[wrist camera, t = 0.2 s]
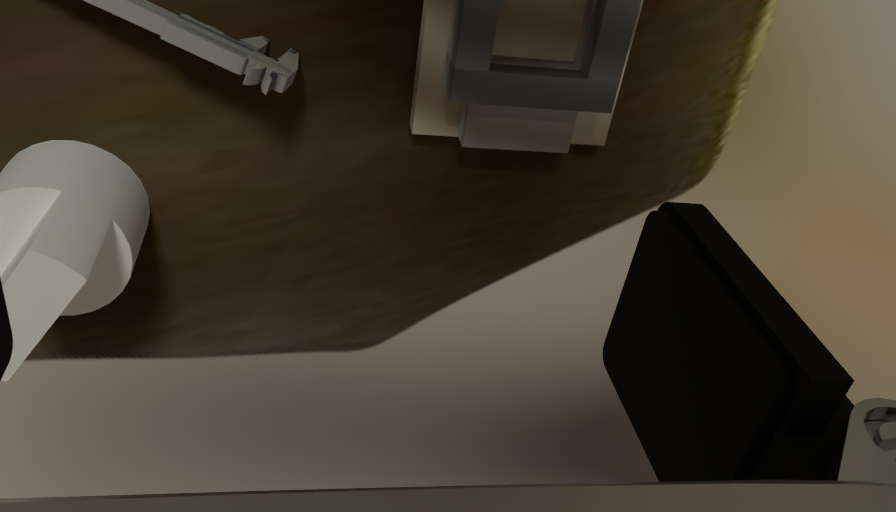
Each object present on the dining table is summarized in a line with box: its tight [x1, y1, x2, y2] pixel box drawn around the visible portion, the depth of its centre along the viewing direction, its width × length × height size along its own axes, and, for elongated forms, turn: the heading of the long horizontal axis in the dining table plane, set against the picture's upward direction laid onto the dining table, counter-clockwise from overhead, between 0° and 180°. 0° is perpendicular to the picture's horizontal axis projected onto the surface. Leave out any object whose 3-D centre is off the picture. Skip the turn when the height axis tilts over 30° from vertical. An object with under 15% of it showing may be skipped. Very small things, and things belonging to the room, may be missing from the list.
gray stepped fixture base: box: [410, 0, 644, 153], centre depth 44 cm, size 17×13×4 cm
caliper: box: [83, 0, 299, 95], centre depth 39 cm, size 20×1×6 cm, turn 64°
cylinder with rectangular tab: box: [0, 140, 150, 381], centre depth 44 cm, size 9×9×12 cm
